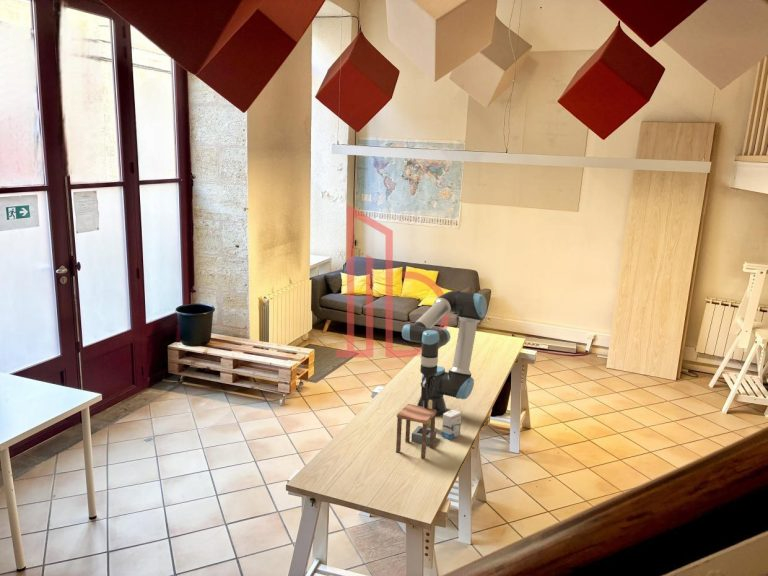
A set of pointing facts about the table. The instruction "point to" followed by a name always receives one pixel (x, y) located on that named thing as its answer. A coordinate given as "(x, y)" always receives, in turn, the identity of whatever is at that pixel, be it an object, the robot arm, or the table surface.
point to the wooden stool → (419, 416)
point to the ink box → (451, 424)
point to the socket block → (418, 435)
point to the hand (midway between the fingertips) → (426, 412)
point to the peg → (430, 420)
